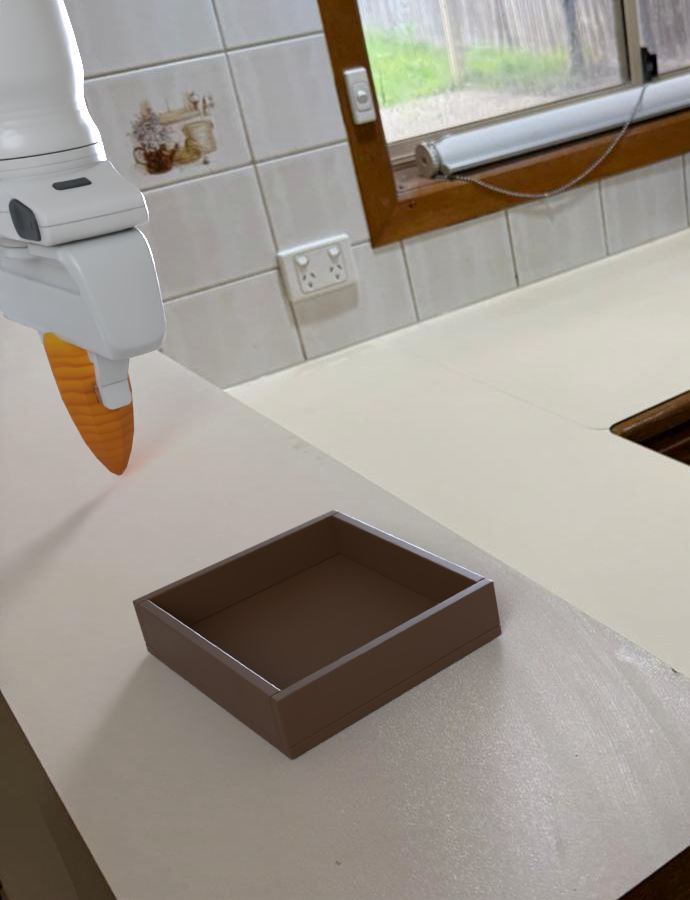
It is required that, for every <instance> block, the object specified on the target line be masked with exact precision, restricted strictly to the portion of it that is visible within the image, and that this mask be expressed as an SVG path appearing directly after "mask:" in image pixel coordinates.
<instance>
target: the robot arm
mask: <svg viewBox="0 0 690 900" xmlns="http://www.w3.org/2000/svg"><path fill="white" fill-rule="evenodd" d="M84 96H85V95H84V68H83V63H82V58H81V54H80V52H79V47H78V45H77V40H76V36H75V33H74V30H73V27H72V24H71V21H70V17H69V15H68V11H67V8H66V5H65V2H64V0H0V312H1V314H2V315H3V317H4V318H5V319H7V320H9V321H11V322H14V323H16V324H19V325H22V326H24V327H27V328H30V329H32V330H34V331H36V332H37V333H38V336H39V339H40V343H41V344H42V346H43V347H44V344H43V336H44V334H45V333H48V332H49V333H53V334H54V335H56V336H57V337H58V338H59V339H60V340H62V341H65V342H67V343H70V344H72V345H75V346H77V347H80V348H82V349H85V350H87V353H88V357H89V360H90V362H92V363H94V369H95V376H96V382H93V383H92V384H93V387H94V391H95V393H96V395H97V401H98V403H99V404H100V405H102V406H104V407H106V408H108V409H112V410H114V409H117V408H120V407H123V406H126V405H128V404H130V403H131V401H132V399H133V394H132V395H131V392H130V388H129V384H128V380H127V379H128V374H129V368H130V359H132V358H135V357H139V356H142V355H145V354H146V355H147V354H148V353H151V352H154V351H158V350H160V349H162V348H163V347H164V344H165V341H166V335H167V334H166V333H167V318H166V315H165V314H166V313H165V308H164V303H163V298H162V297H163V296H162V292H161V288H160V287H161V286H160V282H159V278H158V274H157V270H156V264H155V261H154V256H153V253H152V250H151V246H150V244H149V242H148V240H147V237H146V236H145V235H144V233H143V232H142V231H141V230H140V229H139V228H138V227H141V226H144V225H147V224H148V223H149V222H150V215H149V210H148V206H147V202H146V199H145V196H144V194H143V192H142V191H141V189H139V188H138V187H137V186H135V185H134V184H132V183H131V182H130V181H129V180H127V179H126V178H125V177H124V176H123V175H122V174H121V173H120V172H118V171H117V168H115V167H114V165H113V163H112V162H111V161H110V160H108V159H107V157H106V152H105V148H104V145H103V141H102V137H101V134H100V131H99V129H98V127H97V125H96V124H95V122H94V120H93V119H92V117H91V115H90V113H89V110H88V108H87V105H86V101H85V97H84Z"/></svg>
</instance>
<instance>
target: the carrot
mask: <svg viewBox="0 0 690 900" xmlns="http://www.w3.org/2000/svg"><path fill="white" fill-rule="evenodd" d="M43 344H44V346H43V349H44V351H45V355H46V357H47V360H48V364H49V366H50V370H51V373H52V376H53V378H54V381H55V384H56V386H57V388H58V392H59V395H60V397H61V401H62V402H63V404H64V406H65V408H66V410H67V412H68V414H69V417H70V418H71V420H72V422H73V424H74V426H75V427H76V430H77V431H78V434H79V435H80V436H81V439H82V440H83V442H84V444H85V445H86V447H87V448H88V449H89V450H90V451H91V453H92V454H93V455H94V457H95V458H96V459H97V460H98V461H99V462H100V463H101V465H102V466H104V467H105V468H106V470H108V471H109V472H110V473H111V474H113V475H116V476H117V477H119V476H122V475H123V474H124V472H125V470H126V469H127V468H128V465H129V461H130V457H131V454H132V450H133V445H134V444H133V443H134V436H135V415H134V413H135V412H134V399H133V398H132V401H131V403H130V404H128V405H126V406H123V407H120V408H117V409H114V410H112V409H108V408H106V407H104V406H102V405H100V404H99V403H98V401H97V395H96V393H95V391H94V387H93V384H92V383H93V382H96V376H95V369H94V363H92V362H90V360H89V357H88V353H87V350H85V349H82V348H80V347H77V346H75V345H72V344H70V343H67V342H65V341H62V340H60V339H59V338H58V337H57V336H56V335H54V334H53V333H49V332H48V333H45V334H44V336H43ZM43 344H42V345H43ZM127 380H128V384H129V388H130V392H131V395H132V396H133V389H132V385H131V380H130V375H129V373H128V379H127Z"/></svg>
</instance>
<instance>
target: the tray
mask: <svg viewBox="0 0 690 900" xmlns="http://www.w3.org/2000/svg"><path fill="white" fill-rule="evenodd" d="M132 604H133V608H134V611H135V614H136V618H137V622H138V624H139V627H140V631H141V634H142V637H143V640H144V643H145V647H146V651H147V652H148V653H149V654H151V656H153V657H155V658H156V659H157V660H159V661H160V662H161V663H163V664H164V665H165V666H166V667H168V668H169V669H171V670H172V671H173V672H174V673H176V674H177V675H178V676H180V677H181V678H182V679H183V680H185V681H186V682H188V683H189V684H190V685H192V686H193V687H194V688H195V689H197V690H198V691H199V692H201V693H202V694H204V695H205V696H206V697H208V699H210V700H211V701H213V702H214V703H216V704H217V705H218V706H220V707H221V708H222V709H223V710H225V711H226V712H228V713H229V714H230V715H231V716H233V717H234V718H235V719H237V720H238V721H239V722H241V723H242V724H243V725H245V726H246V727H247V728H249V729H250V730H251V731H253V732H254V733H255V734H257V735H259V737H261V738H262V739H264V740H265V742H267V743H268V744H269V745H271V746H273V747H274V748H275V749H276V750H277V751H279V752H281V753H282V754H283V755H285V756H286V757H287V758H288V759H290V760H294V759H296V758H297V757H299V756H301V755H303V754H304V753H306V752H308V751H310V750H312V749H313V748H314V747H316V746H318V745H319V744H322V743H323V742H325V741H326V740H327V739H329V738H332V737H333V736H335V735H336V734H338V733H340V732H341V731H342V730H344V729H346V728H348V727H349V726H351V725H353V724H354V723H356V722H358V721H359V720H361V719H363V718H364V717H366V716H367V715H369V714H371V713H373V712H374V711H376V710H377V709H379V708H381V707H382V706H384V705H387V704H388V703H389V702H391V701H393V700H395V699H397V698H398V697H399V696H401V695H403V694H404V693H407V692H408V691H409V690H412V689H413V688H414V687H416V686H419V684H421V683H423V682H424V681H427V680H428V679H429V678H431V677H433V676H434V675H436V674H437V673H440V672H441V671H442V670H444V669H446V668H448V667H449V666H451V665H452V664H454V663H456V662H458V661H459V660H461V659H463V658H465V657H466V656H468V655H469V654H471V653H473V652H474V651H475V650H478V649H479V648H481V647H482V646H484V645H486V644H488V643H489V642H491V641H492V640H494V639H496V638H498V637H499V636H501V635H502V628H501V627H502V626H501V620H500V615H499V614H500V613H499V608H498V601H497V596H496V589H495V582H494V581H493V580H492V579H489V578H486V577H484V576H483V575H481V574H479V573H476V572H473V571H471V570H469V569H467V568H466V567H462V566H461V565H459V564H456V563H454V562H451V561H449V560H447V559H445V558H443V557H441V556H438V555H436V554H434V553H432V552H430V551H427V550H425V549H423V548H421V547H419V546H416V545H414V544H412V543H409V542H407V541H405V540H404V539H401V538H399V537H396V536H394V535H392V534H389V533H388V532H385V531H383V530H381V529H379V528H377V527H375V526H372V525H370V524H368V523H365V522H363V521H361V520H359V519H356V518H354V517H352V516H350V515H347V514H346V513H343V512H340V511H339V510H337V509H332V510H330V511H327V512H325V513H322V514H320V515H318V516H316V517H314V518H312V519H310V520H307V521H305V522H303V523H301V524H299V525H297V526H294V527H292V528H290V529H288V530H286V531H284V532H280V533H279V534H277V535H274V536H273V537H270V538H268V539H266V540H263V541H261V542H260V543H257V544H255V545H252V546H251V547H248V548H246V549H243V550H242V551H240V552H237V553H235V554H233V555H231V556H228V557H226V558H224V559H221V560H220V561H217V562H214V563H213V564H211V565H208V566H206V567H204V568H202V569H199V570H198V571H195V572H193V573H191V574H188V575H187V576H184V577H182V578H180V579H177V580H175V581H173V582H171V583H168V584H167V585H164V586H162V587H160V588H158V589H156V590H154V591H151V592H149V593H147V594H145V595H142V596H140V597H138V598H136V599H134V600H132Z"/></svg>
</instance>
